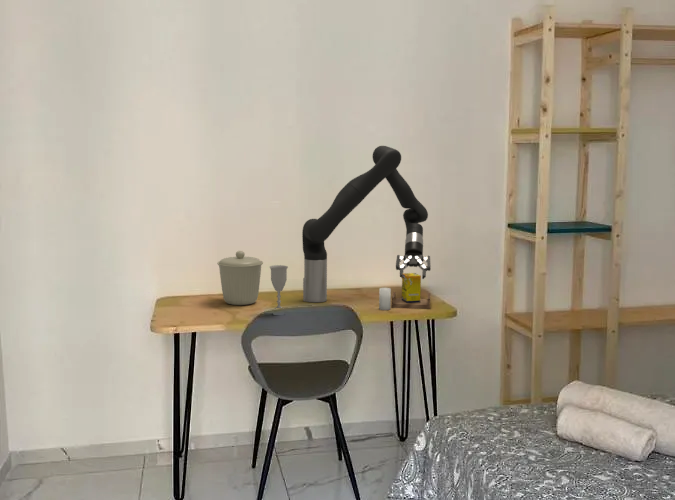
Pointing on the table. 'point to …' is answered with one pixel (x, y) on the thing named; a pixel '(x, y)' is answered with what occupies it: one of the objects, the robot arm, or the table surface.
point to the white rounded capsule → (384, 298)
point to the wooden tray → (402, 304)
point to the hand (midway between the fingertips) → (412, 277)
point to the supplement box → (411, 287)
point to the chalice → (278, 279)
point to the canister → (240, 279)
